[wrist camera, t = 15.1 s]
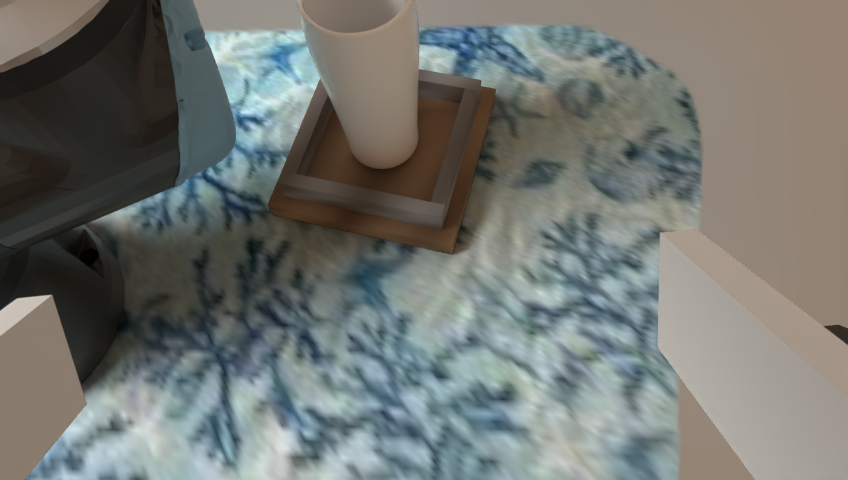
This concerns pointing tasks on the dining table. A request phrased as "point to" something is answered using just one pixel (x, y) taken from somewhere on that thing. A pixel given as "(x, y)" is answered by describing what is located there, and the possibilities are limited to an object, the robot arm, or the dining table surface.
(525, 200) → the dining table surface
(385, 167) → the white cup
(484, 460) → the dining table surface
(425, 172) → the collar board
